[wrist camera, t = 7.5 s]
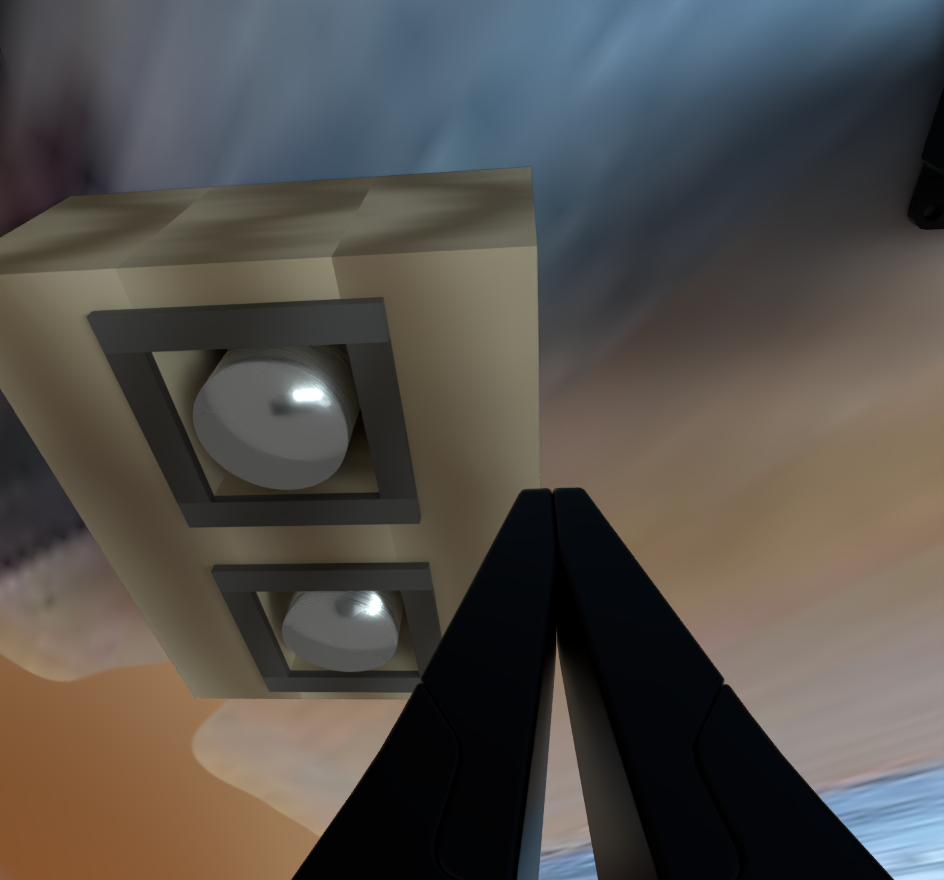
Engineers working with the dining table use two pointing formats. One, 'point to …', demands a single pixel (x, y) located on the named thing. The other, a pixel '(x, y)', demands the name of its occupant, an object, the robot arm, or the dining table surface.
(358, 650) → the peg
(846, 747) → the dining table surface
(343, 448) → the peg
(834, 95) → the dining table surface
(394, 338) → the jig block
